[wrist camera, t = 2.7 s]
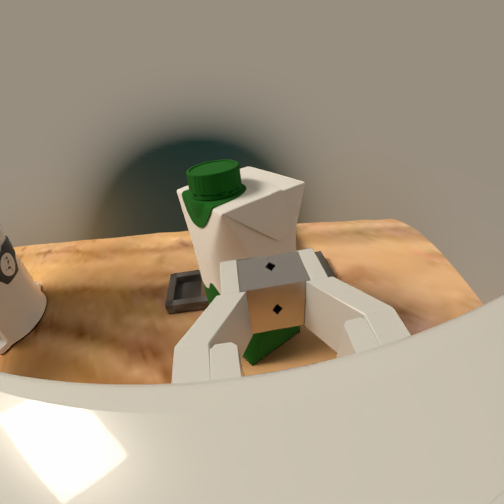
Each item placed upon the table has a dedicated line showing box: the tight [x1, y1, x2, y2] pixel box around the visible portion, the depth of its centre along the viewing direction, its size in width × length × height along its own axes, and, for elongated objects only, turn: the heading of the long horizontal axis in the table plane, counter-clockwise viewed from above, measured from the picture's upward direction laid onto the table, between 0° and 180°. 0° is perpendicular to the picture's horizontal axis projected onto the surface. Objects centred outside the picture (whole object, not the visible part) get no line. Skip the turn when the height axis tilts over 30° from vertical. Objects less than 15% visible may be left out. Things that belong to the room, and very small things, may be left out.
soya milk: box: [177, 160, 305, 365], centre depth 26 cm, size 9×9×20 cm
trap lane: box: [166, 251, 336, 314], centre depth 41 cm, size 23×17×6 cm
